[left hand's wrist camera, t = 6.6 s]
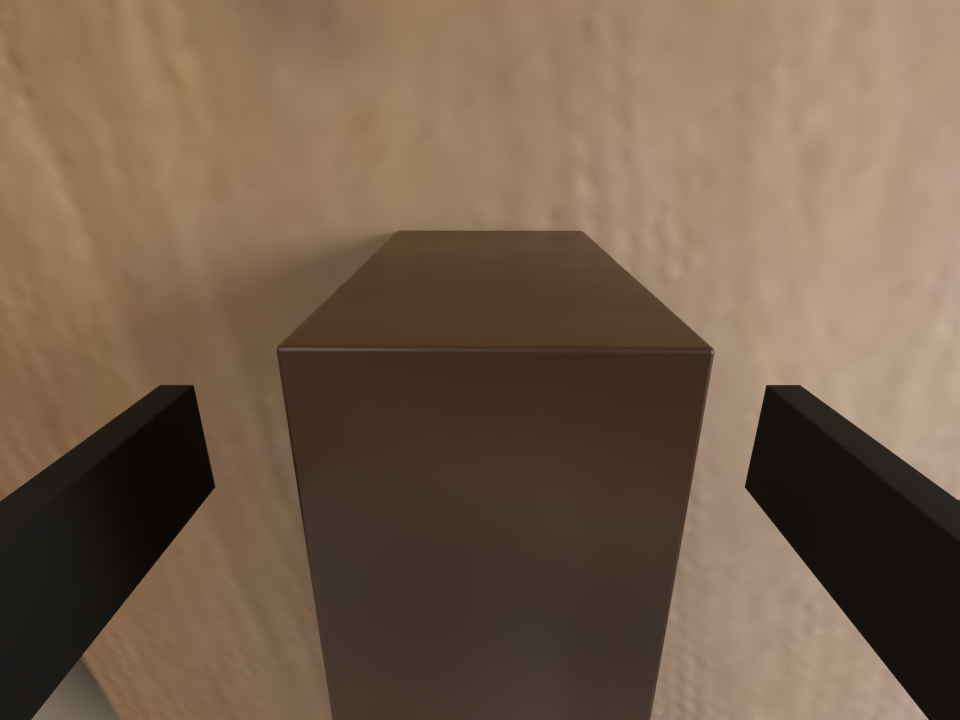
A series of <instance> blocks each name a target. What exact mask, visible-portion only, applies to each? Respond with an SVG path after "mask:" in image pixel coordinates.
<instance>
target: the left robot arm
mask: <svg viewBox="0 0 960 720" xmlns="http://www.w3.org/2000/svg"><path fill="white" fill-rule="evenodd" d="M214 488H215V484H214V479H213V475H212V470H211V465H210V460H209V456H208V451H207V446H206V442H205V437H204V432H203V428H202V423H201V418H200V413H199V409H198V404H197V399H196V395H195V390H194V385H160V386H158V387H157V388H156V389H154V390H153V391H151V392H150V393H149V394H147V395H146V396H145V397H143V398H142V399H141V400H139V401H138V402H136V403H135V404H134V405H132V406H131V407H130V408H128V409H127V410H125V411H124V412H123V413H121V414H120V415H119V416H117V417H116V418H114V419H113V420H112V421H110V422H109V423H108V424H106V425H105V426H103V427H102V428H101V429H99V430H98V431H97V432H95V433H94V434H92V435H91V436H90V437H88V438H87V439H86V440H84V441H83V442H81V443H80V444H79V445H77V446H76V447H75V448H73V449H72V450H70V451H69V452H68V453H66V454H65V455H64V456H62V457H61V458H59V459H58V460H57V461H55V462H54V463H53V464H51V465H50V466H48V467H47V468H46V469H44V470H43V471H42V472H40V473H39V474H38V475H36V476H35V477H33V478H32V479H31V480H29V481H28V482H27V483H25V484H24V485H22V486H21V487H20V488H18V489H17V490H16V491H14V492H13V493H11V494H10V495H9V496H7V497H6V498H5V499H3V500H2V501H0V720H31V719H32V718H33V717H34V715H35V714H36V713H37V712H38V710H39V709H40V708H41V707H42V705H43V704H44V703H45V701H46V700H47V699H48V698H49V696H50V695H51V694H52V693H53V691H54V690H55V689H56V688H57V686H58V685H59V684H60V682H61V681H62V680H63V679H64V677H65V676H66V675H67V674H68V672H69V671H70V670H71V669H72V667H73V666H74V665H75V663H76V662H77V661H78V660H79V659H80V657H81V656H82V655H83V653H84V652H85V651H86V650H87V648H88V647H89V646H90V645H91V643H92V642H93V641H94V640H95V638H96V637H97V636H98V634H99V633H100V632H101V631H102V629H103V628H104V627H105V626H106V624H107V623H108V622H109V621H110V619H111V618H112V617H113V616H114V614H115V613H116V612H117V610H118V609H119V608H120V607H121V605H122V604H123V603H124V602H125V600H126V599H127V598H128V597H129V595H130V594H131V593H132V592H133V590H134V589H135V588H136V586H137V585H138V584H139V583H140V581H141V580H142V579H143V578H144V576H145V575H146V574H147V573H148V571H149V570H150V569H151V568H152V566H153V565H154V564H155V562H156V561H157V560H158V559H159V557H160V556H161V555H162V554H163V552H164V551H165V550H166V549H167V547H168V546H169V545H170V543H171V542H172V541H173V540H174V538H175V537H176V536H177V535H178V533H179V532H180V531H181V530H182V528H183V527H184V526H185V525H186V523H187V522H188V521H189V519H190V518H191V517H192V516H193V514H194V513H195V512H196V511H197V509H198V508H199V507H200V506H201V504H202V503H203V502H204V501H205V499H206V498H207V497H208V495H209V494H210V493H211V492H212V490H213V489H214ZM745 488H746V489H747V490H748V492H749V493H750V494H751V495H752V497H753V498H754V499H755V501H756V502H757V503H758V504H759V506H760V507H761V508H762V509H763V511H764V512H765V513H766V514H767V516H768V517H769V518H770V519H771V521H772V522H773V523H774V525H775V526H776V527H777V528H778V530H779V531H780V532H781V533H782V535H783V536H784V537H785V538H786V540H787V541H788V542H789V543H790V545H791V546H792V547H793V549H794V550H795V551H796V552H797V554H798V555H799V556H800V557H801V559H802V560H803V561H804V562H805V564H806V565H807V566H808V568H809V569H810V570H811V571H812V573H813V574H814V575H815V576H816V578H817V579H818V580H819V581H820V583H821V584H822V585H823V586H824V588H825V589H826V590H827V592H828V593H829V594H830V595H831V597H832V598H833V599H834V600H835V602H836V603H837V604H838V605H839V607H840V608H841V609H842V610H843V612H844V613H845V614H846V616H847V617H848V618H849V619H850V621H851V622H852V623H853V624H854V626H855V627H856V628H857V629H858V631H859V632H860V633H861V634H862V636H863V637H864V638H865V640H866V641H867V642H868V643H869V645H870V646H871V647H872V648H873V650H874V651H875V652H876V653H877V655H878V656H879V657H880V659H881V660H882V661H883V662H884V664H885V665H886V666H887V667H888V669H889V670H890V671H891V672H892V674H893V675H894V676H895V677H896V679H897V680H898V681H899V683H900V684H901V685H902V686H903V688H904V689H905V690H906V691H907V693H908V694H909V695H910V696H911V698H912V699H913V700H914V701H915V703H916V704H917V705H918V707H919V708H920V709H921V710H922V712H923V713H924V714H925V715H926V717H927V718H928V719H929V720H960V500H957V499H955V498H954V497H953V496H951V495H950V494H949V493H947V492H946V491H944V490H943V489H942V488H940V487H939V486H938V485H936V484H935V483H933V482H932V481H931V480H929V479H928V478H927V477H925V476H924V475H922V474H921V473H920V472H918V471H917V470H916V469H914V468H913V467H912V466H910V465H909V464H907V463H906V462H905V461H903V460H902V459H901V458H899V457H898V456H896V455H895V454H894V453H892V452H891V451H890V450H888V449H887V448H885V447H884V446H883V445H881V444H880V443H879V442H877V441H876V440H874V439H873V438H872V437H870V436H869V435H868V434H866V433H865V432H863V431H862V430H861V429H859V428H858V427H857V426H855V425H854V424H852V423H851V422H850V421H848V420H847V419H846V418H844V417H843V416H841V415H840V414H839V413H837V412H836V411H835V410H833V409H832V408H830V407H829V406H828V405H826V404H825V403H824V402H822V401H821V400H819V399H818V398H817V397H815V396H814V395H813V394H811V393H810V392H809V391H807V390H806V389H804V388H803V387H802V386H800V385H766V390H765V395H764V399H763V404H762V409H761V413H760V418H759V423H758V428H757V432H756V437H755V442H754V446H753V451H752V456H751V460H750V465H749V470H748V475H747V479H746V484H745Z"/></svg>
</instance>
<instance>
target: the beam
mask: <svg viewBox="0 0 960 720" xmlns="http://www.w3.org/2000/svg"><path fill="white" fill-rule="evenodd" d="M277 355H278V362H279V369H280V375H281V382H282V388H283V395H284V402H285V408H286V415H287V421H288V428H289V435H290V441H291V448H292V454H293V461H294V468H295V474H296V481H297V487H298V494H299V501H300V507H301V514H302V520H303V527H304V534H305V540H306V547H307V553H308V560H309V567H310V573H311V580H312V587H313V593H314V600H315V606H316V613H317V620H318V626H319V633H320V639H321V646H322V653H323V659H324V666H325V672H326V679H327V686H328V692H329V699H330V705H331V712H332V719H333V720H650V718H651V712H652V706H653V700H654V695H655V689H656V683H657V678H658V672H659V666H660V660H661V655H662V649H663V643H664V637H665V632H666V626H667V620H668V615H669V609H670V603H671V597H672V592H673V586H674V580H675V575H676V569H677V563H678V557H679V552H680V546H681V540H682V535H683V529H684V523H685V517H686V512H687V506H688V500H689V494H690V489H691V483H692V477H693V472H694V466H695V460H696V454H697V449H698V443H699V437H700V432H701V426H702V420H703V414H704V409H705V403H706V397H707V392H708V386H709V380H710V374H711V369H712V363H713V357H714V350H713V348H712V347H711V346H710V345H709V344H708V343H706V342H705V341H704V340H703V339H702V338H701V337H700V336H699V335H697V334H696V333H695V332H694V331H693V330H692V329H691V328H690V327H689V326H687V325H686V324H685V323H684V322H683V321H682V320H681V319H680V318H679V317H677V316H676V315H675V314H674V313H673V312H672V311H671V310H670V309H668V308H667V307H666V306H665V305H664V304H663V303H662V302H661V301H660V300H658V299H657V298H656V297H655V296H654V295H653V294H652V293H651V292H649V291H648V290H647V289H646V288H645V287H644V286H643V285H642V284H641V283H639V282H638V281H637V280H636V279H635V278H634V277H633V276H632V275H631V274H629V273H628V272H627V271H626V270H625V269H624V268H623V267H622V266H620V265H619V264H618V263H617V262H616V261H615V260H614V259H613V258H612V257H610V256H609V255H608V254H607V253H606V252H605V251H604V250H603V249H601V248H600V247H599V246H598V245H597V244H596V243H595V242H594V241H593V240H591V239H590V238H589V237H588V236H587V235H586V234H585V233H584V232H582V231H398V232H397V233H396V234H395V235H394V236H393V237H392V238H391V239H390V240H389V241H388V242H387V243H386V244H384V245H383V246H382V247H381V248H380V249H379V250H378V251H377V252H376V253H375V254H374V255H373V256H372V257H371V258H370V259H369V260H368V261H367V262H366V263H365V264H364V265H363V266H362V267H360V268H359V269H358V270H357V271H356V272H355V273H354V274H353V275H352V276H351V277H350V278H349V279H348V280H347V281H346V282H345V283H344V284H343V285H342V286H341V287H340V288H339V289H338V290H336V291H335V292H334V293H333V294H332V295H331V296H330V297H329V298H328V299H327V300H326V301H325V302H324V303H323V304H322V305H321V306H320V307H319V308H318V309H317V310H316V311H315V312H314V313H312V314H311V315H310V316H309V317H308V318H307V319H306V320H305V321H304V322H303V323H302V324H301V325H300V326H299V327H298V328H297V329H296V330H295V331H294V332H293V333H292V334H291V335H289V336H288V337H287V338H286V339H285V340H284V341H283V342H282V343H281V344H280V345H279V346H278V348H277Z"/></svg>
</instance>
